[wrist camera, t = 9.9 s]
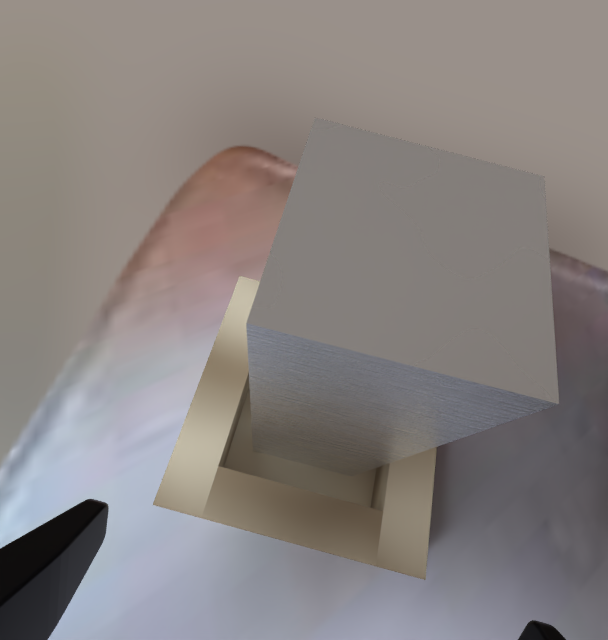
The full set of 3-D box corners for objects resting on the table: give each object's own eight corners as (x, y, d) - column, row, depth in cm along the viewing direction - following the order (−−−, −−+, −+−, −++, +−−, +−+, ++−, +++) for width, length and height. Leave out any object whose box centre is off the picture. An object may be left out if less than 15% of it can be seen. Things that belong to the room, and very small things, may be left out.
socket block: (398, 568, 17) (425, 579, 14) (169, 505, 17) (152, 504, 14) (422, 353, 21) (446, 330, 18) (242, 305, 21) (239, 276, 18)
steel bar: (351, 476, 17) (559, 403, 5) (253, 450, 17) (246, 322, 5) (367, 381, 19) (544, 176, 7) (278, 358, 19) (315, 117, 7)
